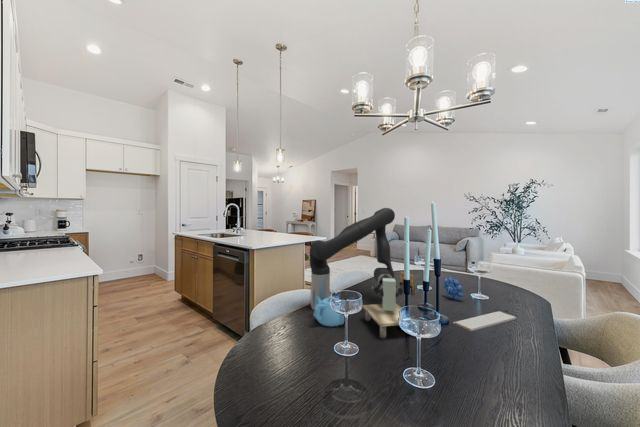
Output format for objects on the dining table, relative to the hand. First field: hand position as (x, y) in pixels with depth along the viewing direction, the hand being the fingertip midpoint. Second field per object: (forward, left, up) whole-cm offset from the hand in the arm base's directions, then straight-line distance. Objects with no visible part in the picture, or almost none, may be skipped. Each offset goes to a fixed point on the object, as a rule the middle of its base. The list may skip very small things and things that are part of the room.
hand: (389, 294), depth 110 cm
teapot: (-21, +12, -15) cm, 29 cm away
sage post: (+1, +2, -7) cm, 7 cm away
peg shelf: (+1, +2, -14) cm, 15 cm away
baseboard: (+45, +1, -15) cm, 48 cm away
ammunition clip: (+32, +44, -15) cm, 57 cm away
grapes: (+50, +28, -15) cm, 59 cm away
